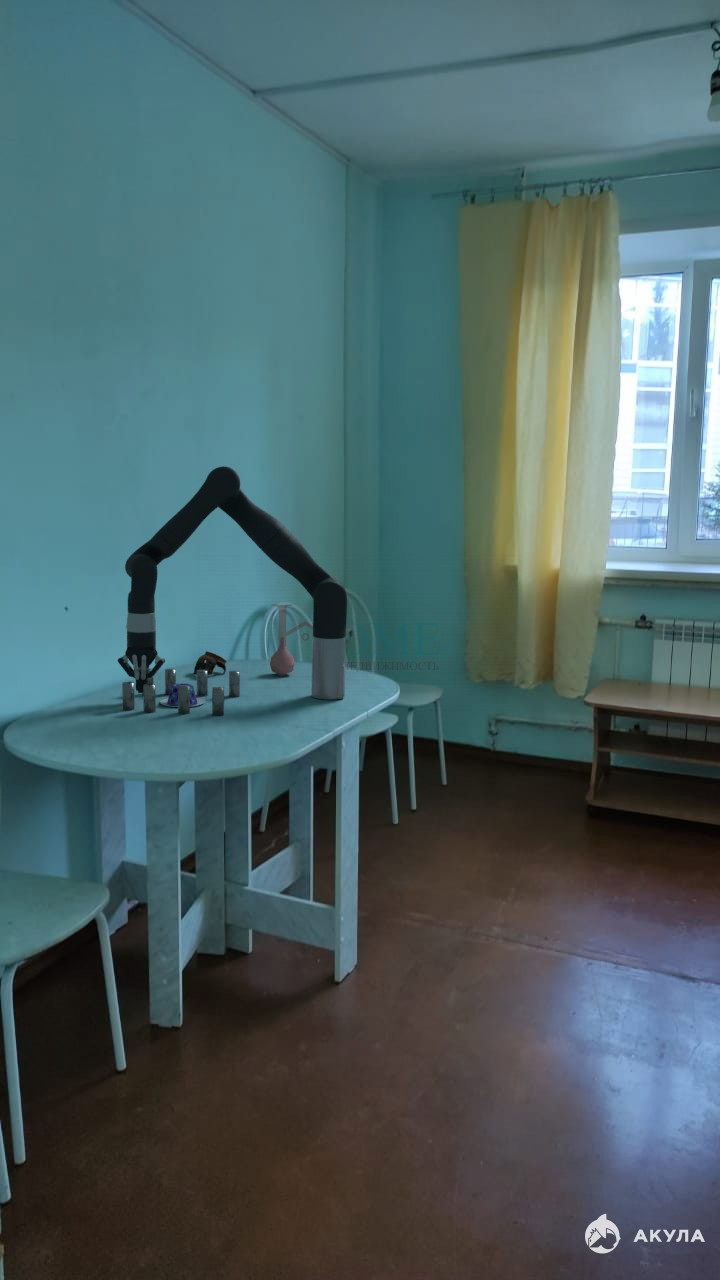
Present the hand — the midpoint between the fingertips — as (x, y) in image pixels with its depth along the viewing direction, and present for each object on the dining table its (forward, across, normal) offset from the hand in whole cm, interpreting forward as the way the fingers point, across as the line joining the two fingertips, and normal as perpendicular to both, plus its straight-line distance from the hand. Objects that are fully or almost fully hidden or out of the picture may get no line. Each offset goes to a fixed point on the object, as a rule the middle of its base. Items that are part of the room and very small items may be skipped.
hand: (141, 692), depth 250 cm
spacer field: (+2, -11, 0) cm, 11 cm away
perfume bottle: (+2, -32, -43) cm, 54 cm away
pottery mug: (+3, -10, -39) cm, 40 cm away
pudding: (+3, -11, 0) cm, 12 cm away
